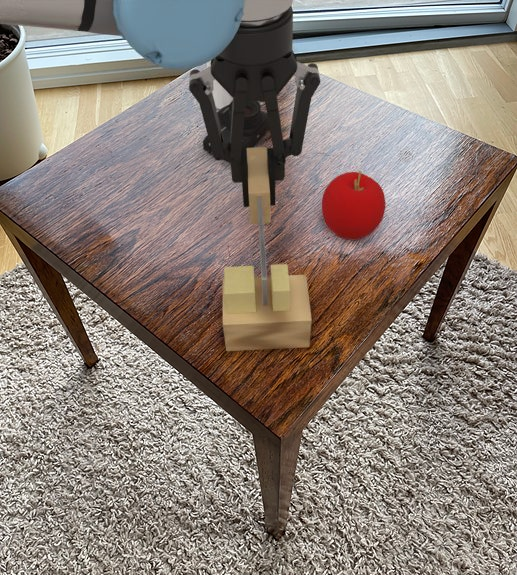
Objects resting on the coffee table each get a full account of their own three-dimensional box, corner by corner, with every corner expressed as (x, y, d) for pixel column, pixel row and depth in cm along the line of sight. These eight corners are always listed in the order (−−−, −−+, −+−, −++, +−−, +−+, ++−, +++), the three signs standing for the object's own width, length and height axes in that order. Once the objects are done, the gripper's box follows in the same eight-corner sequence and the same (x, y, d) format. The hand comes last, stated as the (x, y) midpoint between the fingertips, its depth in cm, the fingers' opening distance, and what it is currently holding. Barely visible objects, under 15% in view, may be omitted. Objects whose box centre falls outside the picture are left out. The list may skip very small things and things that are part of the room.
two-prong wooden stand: (226, 351, 72) (222, 324, 67) (225, 306, 76) (222, 278, 72) (309, 347, 72) (311, 320, 67) (304, 302, 76) (306, 274, 72)
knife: (248, 179, 73) (246, 147, 69) (267, 178, 73) (266, 146, 69) (254, 306, 60) (252, 276, 56) (276, 305, 60) (276, 275, 56)
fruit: (393, 234, 83) (405, 182, 76) (342, 258, 81) (349, 207, 73) (356, 197, 89) (364, 144, 81) (307, 218, 86) (310, 166, 78)
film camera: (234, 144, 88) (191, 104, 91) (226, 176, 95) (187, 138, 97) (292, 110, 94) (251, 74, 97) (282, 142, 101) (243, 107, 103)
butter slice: (272, 311, 68) (272, 291, 65) (270, 285, 71) (270, 264, 68) (289, 310, 68) (290, 290, 65) (287, 284, 71) (287, 263, 68)
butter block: (226, 314, 68) (224, 293, 65) (226, 287, 71) (224, 266, 68) (256, 312, 68) (255, 292, 65) (254, 286, 71) (253, 265, 68)
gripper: (332, -18, 54) (318, 174, 72) (167, -9, 54) (196, 181, 72) (342, 22, 49) (325, 217, 68) (163, 32, 49) (195, 223, 68)
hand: (259, 198), depth 70 cm, fingers closed on knife, 2 cm apart
